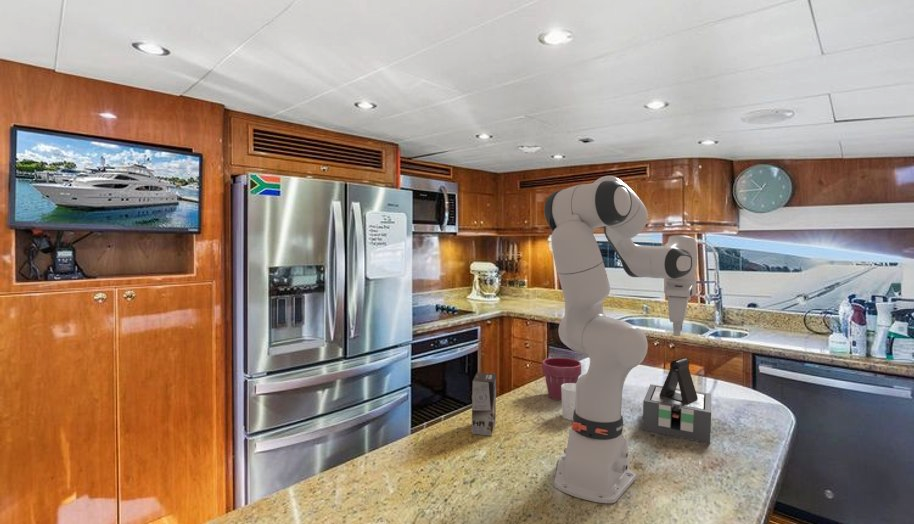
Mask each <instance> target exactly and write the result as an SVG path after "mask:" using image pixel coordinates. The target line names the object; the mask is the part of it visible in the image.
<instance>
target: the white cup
mask: <svg viewBox="0 0 914 524" xmlns="http://www.w3.org/2000/svg"><path fill="white" fill-rule="evenodd" d="M561 396H562V400H561V409H562V410H561V411H562V412H561V413H562V418H564V419H565V420H568V421H570V422H571V421H572V418H573V413H574V410H575V399H576V383H565V384H562V385H561ZM572 422H573V421H572Z"/></svg>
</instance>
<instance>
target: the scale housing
mask: <svg viewBox="0 0 914 524" xmlns="http://www.w3.org/2000/svg"><path fill="white" fill-rule="evenodd" d="M656 387H659V388H662V387H663V385H658V384H651V383H650V385H649V387H648V389H647V391H646V394H645V396H644V399H643V401H642V402H643V406H642V431H646V430H647V432H651V431H652V433H657V434H661V435H665V436H667V435H668V436H671V435H672V437H676V436H677V437H676V438H681V437H683V438H682V439H685V438H687V439H686V440H690V439H692V441H695V440H698V441H697V442H700V441H701V442H702V443H705V442H706V443H707V444H711V429H712V428H711V427H712V425H711V424H712V393H708V392H702V391H697V390H695V391H696V393H697V394H704V408H703V409H698V408H692V407H686V406H681V409H679V412H678V411H673V408H672V404H669V403H663V402H657V401H652V400H651V399H652V397H653V394H654V392H655V389H656ZM676 390H678V391H680V388H678V387H676ZM673 413H678V414H679V418H674V417H673ZM701 442H700V443H701Z"/></svg>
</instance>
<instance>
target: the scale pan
mask: <svg viewBox="0 0 914 524" xmlns="http://www.w3.org/2000/svg"><path fill="white" fill-rule="evenodd" d="M661 390H662V388H659V387H656V389H655V392H654V394H653V397H652V399H651V400H652V401H657V402H663V403H669V404H672V408H673V411H678V412H679V409H681V406H686V407H692V408H698V409H703V408H704V394H697V393H696V394H697V397H698V399H697V400H695V401H693V402H690V403H688V404H686V403H683V402H680V401H676V400H674V399H670V398H666V397H663V396H660V392H661ZM675 392H676V393H680V394H681V392H680V391H678V390H675Z"/></svg>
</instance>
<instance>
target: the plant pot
mask: <svg viewBox="0 0 914 524" xmlns="http://www.w3.org/2000/svg"><path fill="white" fill-rule="evenodd" d="M541 363H542V364H541V365H542V366H541V370H542V373H544V377H545V383H546V384H545V385H546V388H547V393H548V396H549V397H550V398H551V399H552V400H553V399H554V400H557V401H562V396H561V385H562V384H565V383H576V382H577V380H578V379H579V378H580V377H579V376H582V362H580V361H579V360H578V359H573V358H569V357H549V358H545V359H543V360H542V362H541Z"/></svg>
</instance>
